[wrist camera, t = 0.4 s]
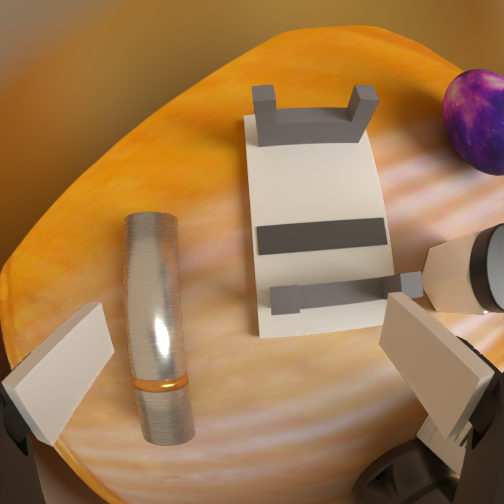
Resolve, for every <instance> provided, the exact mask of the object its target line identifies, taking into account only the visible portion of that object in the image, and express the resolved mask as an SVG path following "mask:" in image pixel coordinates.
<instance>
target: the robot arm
mask: <svg viewBox="0 0 504 504" xmlns="http://www.w3.org/2000/svg"><path fill="white" fill-rule="evenodd" d="M379 345H380V346H381V347H382V349H383V350H384V352H385V353H386V354H387V356H388V357H389V358H390V360H391V361H392V363H393V364H394V365H395V367H396V368H397V369H398V371H399V372H400V374H401V375H402V376H403V378H404V379H405V381H406V382H407V384H408V385H409V386H410V388H411V389H412V391H413V392H414V394H415V395H416V396H417V398H418V399H419V401H420V402H421V404H422V405H423V407H424V408H425V410H426V411H427V413H428V414H429V416H430V417H431V419H432V420H433V422H434V423H435V425H436V426H437V428H438V429H439V431H440V432H441V434H442V435H443V437H444V439H445V440H446V439H448V438H450V437H452V436H454V435H456V434H458V433H460V432H461V431H462V430H463V428H464V427H465V425H466V424H467V422H468V421H469V422H470V423H471V424H472V426H471V428H470V429H469V431H468V432H467V434H466V435H465V437H464V438H463V440H462V441H461V443H460V445H459V446H460V447H462V445H463V444H464V443H465V441H466V440H467V445H466V446H465V447H466V451H465V456H464V461H463V466H462V470H461V475H460V479H459V478H458V477H457V474H456V473H455V472H454V471H453V470H452V469H451V468H450V467H449V466H448V465H447V464H445V463H444V462H443V461H442V460H441V459H440V458H439V457H438V456H437V455H436V454H435V453H434V452H433V451H432V450H431V449H430V448H428V447H427V446H426V445H425V444H424V443H423V442H422V441H421V440H420V439H419V440H414V441H411V442H408V443H405V444H403V445H400V446H398V447H396V448H394V449H393V450H391V451H389V452H387V453H386V454H384V455H383V456H381V457H380V458H379V459H377V460H376V461H375V462H374V463H373V464H371V465H370V466H369V467H368V468H367V469H366V470H365V471H364V472H363V474H362V475H361V476H360V477H359V479H358V480H357V482H356V483H355V485H354V488H353V490H352V502H353V504H504V372H503V373H501V372H500V371H499V370H498V369H497V368H496V367H495V366H494V365H493V364H492V363H491V362H490V361H489V360H487V359H486V358H485V357H484V356H483V355H482V354H480V352H479V351H477V350H476V349H474V347H473V346H472V345H471V344H469V343H468V342H467V341H466V340H464V339H462V338H460V337H458V336H455V335H454V334H453V333H451V332H450V331H449V330H448V329H447V328H446V327H444V326H443V325H442V324H441V323H440V322H439V321H437V320H436V319H435V318H434V317H433V316H431V315H430V314H429V313H428V312H427V311H425V310H424V309H423V308H422V307H420V306H419V305H418V304H417V303H415V302H414V301H413V300H412V299H410V298H409V297H408V296H407V295H405V294H404V293H403V292H394V293H388V298H387V305H386V311H385V317H384V322H383V327H382V332H381V337H380V342H379ZM114 352H115V351H114V348H113V345H112V341H111V338H110V334H109V331H108V327H107V324H106V320H105V316H104V312H103V308H102V304H101V302H88V303H86V304H85V305H84V306H83V307H82V308H80V309H79V310H78V311H77V312H76V313H75V314H74V315H72V316H71V317H70V318H69V319H68V320H67V321H65V322H64V323H63V324H62V325H61V326H60V327H59V328H58V329H57V330H55V331H54V332H53V333H52V334H51V335H50V336H49V337H48V338H47V339H46V340H44V341H43V342H42V343H41V344H40V345H39V346H38V347H37V348H36V349H35V350H34V351H33V352H31V353H29V354H28V355H27V356H26V357H25V358H24V359H23V360H22V362H20V363H19V364H18V365H17V367H15V368H14V369H13V370H12V371H11V372H10V373H9V374H8V375H7V376H6V377H5V378H4V379H3V380H2V381H1V382H0V504H46V503H45V500H44V496H43V493H42V489H41V485H40V481H39V477H38V473H37V469H36V464H35V459H34V453H33V447H32V441H31V438H30V437H29V435H28V433H29V431H30V430H32V432H33V433H34V435H35V436H36V437H37V438H38V440H40V441H42V442H44V443H46V444H48V445H51V446H53V445H54V444H55V442H56V440H57V439H58V437H59V435H60V434H61V432H62V430H63V429H64V427H65V426H66V424H67V422H68V421H69V419H70V418H71V416H72V414H73V413H74V411H75V410H76V408H77V407H78V405H79V404H80V402H81V400H82V399H83V397H84V396H85V394H86V393H87V391H88V390H89V388H90V387H91V385H92V384H93V382H94V381H95V379H96V378H97V376H98V375H99V374H100V372H101V371H102V369H103V368H104V366H105V365H106V363H107V362H108V361H109V359H110V358H111V356H112V355H113V353H114Z"/></svg>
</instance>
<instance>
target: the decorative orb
mask: <svg viewBox="0 0 504 504" xmlns="http://www.w3.org/2000/svg"><path fill="white" fill-rule="evenodd" d="M443 120H444V125H445V129H446V132H447V134H448V137H449V139H450V141H451V143H452V145H453V146H454V148H455V149H456V151H457V152H458V153H459V155H460V156H461V157H462V158H463V159H464V160H465V161H466V162H467V163H468V164H470V165H471V166H472V167H474V168H476V169H477V170H479V171H481V172H484V173H486V174H490V175H496V176H501V175H504V77H502V76H500V75H498V74H496V73H494V72H491V71H487V70H482V69H481V70H480V69H474V70H469V71H466V72H463V73H461V74H460V75H458V76H457V77H456V78H455V79H454V80H453V81H452V82H451V83H450V85H449V86H448V88H447V90H446V93H445V96H444V100H443Z"/></svg>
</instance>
